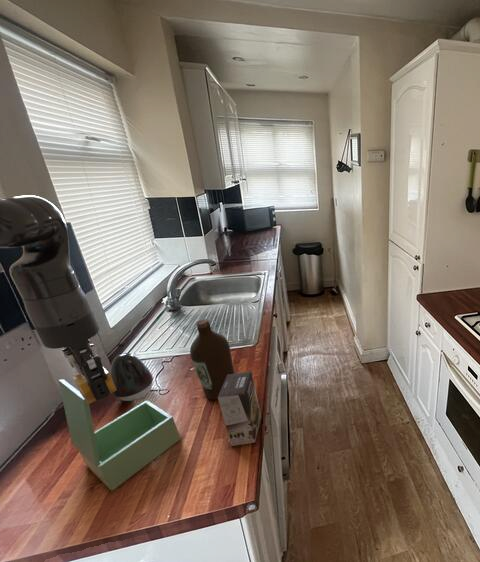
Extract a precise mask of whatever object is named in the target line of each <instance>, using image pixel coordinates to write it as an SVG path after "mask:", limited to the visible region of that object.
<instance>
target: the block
mask: <svg viewBox="0 0 480 562" xmlns="http://www.w3.org/2000/svg"><path fill="white" fill-rule="evenodd" d="M103 368H104V371H105V374H106V375H107V380H105V382H106V384H107V387H108V389H109V391H110V394H113V392H114V391H116V390H117V389H116V387H115V385H114V383H113V380H112V378H111V376H110V371H109V370H107V369H106V367H104V366H103ZM95 376H96V375H95ZM93 377H94V376H93ZM72 379H73V382H74V383H75V386H76V387H77V390H78V391H79V392H80V393H81V395H82V396H83V398H84V399H85V400H86V401H87V403H88V404H89V405H90V404H92V403H94V402H97V400H96V399H95V398H94V396H93V393H92V391H91V389H90V387H89V386H88V384H86V380H85V379H84V377H83V375H82V376H81V375H79V374H76V375H74V376H72Z"/></svg>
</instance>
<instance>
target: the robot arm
mask: <svg viewBox="0 0 480 562" xmlns="http://www.w3.org/2000/svg"><path fill="white" fill-rule="evenodd" d="M20 247H22V255H21V257H20V258H19V259H18V260H16V261H15V262H13V263H12V264H11V265H10V267H9V275H10V277H11V280H12V282H13V283H14V285H15V287H16V290H17V292H18V294H19V295H20V298H21V299H22V302H23V305H24V309H25V312H26V314H27V316H28V319H29V320H30V322H31V324H32V326H33V327H34V329H35V331H36V334H37V335H38V337H39V340H40V342H41V343H42V345H43V346H44V347H45V348H46V349H53V350H56V349H61V352H62V355H63V356H64V358H66V359H67V362H68V363H69V365H70V366H71V368H73V369H74V370H75V372H76V375H78V374H79V375H81V376H82V375H83V377H84V379H85V380H86V384H88V386H89V387H90V389H91V391H92V393H93V396H94V398H95V399H96V401H100V400H102V399H104V398H106V397H108V396H109V395H110V394H111V393H110V391H109V389H108V387H107V384H106V382H105V380H107V375H106V374H105V371H104V368H105V367H104V366H103V362H102V360H101V359H102V358H101V357H100V356H99V355H98V348H97V347H96V345H95V343H92V342H91V340H90V339H92V338H94V337H95V336H96V335H97V334H98V333H99V331H100V325H99V323H98V321H97V318H96V316H95V314H94V311H93V309H92V306H91V304H90V302H89V300H88V297H87V296H86V294H85V292H84V291H83V289H82V288H81V285H80V284H79V281H78V278H77V276H76V274H75V271H74V269H73V267H72V265H71V258H70V257H71V256H70V255H71V253H70V243H69V232H68V226H67V222H66V220H65V218H64V216H63V214H62V213H61V211H60V210H59V209H58V208H57V207H56V206H55V205H54V204H53V203H52V202H50V201H48V200H47V199H45V198H43V197H40V196H36V195H20V196H13V197H6V198H0V249H16V248H20ZM103 367H104V368H103ZM95 375H96V376H95ZM93 376H94V377H93Z"/></svg>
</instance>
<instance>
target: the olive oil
mask: <svg viewBox="0 0 480 562" xmlns="http://www.w3.org/2000/svg"><path fill="white" fill-rule="evenodd" d="M195 324H196V329H197V332H198V334H197V336H196V337H195V338H194V340H193V342H192V343H191V345H190V349H189V355H190V359H191V361H192V365H193V367H194V370H195V372H196V374H197V377H198V380H199V382H200V385H201V387H202V391H203V393H204V397H205V398H206V399H208V400H215V401H216V400H218V396H219V393H220V391H221V388H222V386H223V384H224V381H225V379H226V377H227V375H228V374H235V368H234V363H233V357H232V352H231V346H230V343H229V341H228V339H227V338H226V337H225V336H224V335H223V334H221V333H219V332H216V331H214V330H212V326H211V323H210V320H209V319H208V318H203V319H199V320H198V321H196V323H195Z"/></svg>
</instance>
